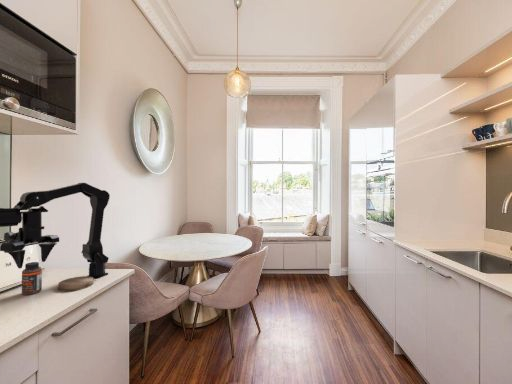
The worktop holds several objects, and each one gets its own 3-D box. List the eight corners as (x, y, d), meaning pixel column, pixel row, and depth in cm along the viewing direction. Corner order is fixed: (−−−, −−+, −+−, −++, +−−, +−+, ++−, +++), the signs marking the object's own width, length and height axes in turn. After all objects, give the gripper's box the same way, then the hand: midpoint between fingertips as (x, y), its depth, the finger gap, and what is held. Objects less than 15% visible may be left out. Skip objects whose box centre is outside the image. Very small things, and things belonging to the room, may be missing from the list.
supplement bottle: (17, 296, 98) (17, 265, 98) (27, 290, 104) (27, 261, 104) (36, 294, 100) (36, 264, 100) (44, 289, 105) (44, 260, 105)
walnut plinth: (75, 280, 116) (75, 275, 116) (100, 281, 114) (100, 276, 114) (50, 290, 104) (50, 285, 104) (77, 291, 102) (77, 286, 102)
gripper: (37, 221, 112) (37, 258, 112) (-14, 227, 94) (-14, 271, 94) (60, 221, 111) (60, 259, 111) (13, 227, 92) (13, 272, 92)
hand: (32, 264), depth 102 cm, fingers open, 9 cm apart
